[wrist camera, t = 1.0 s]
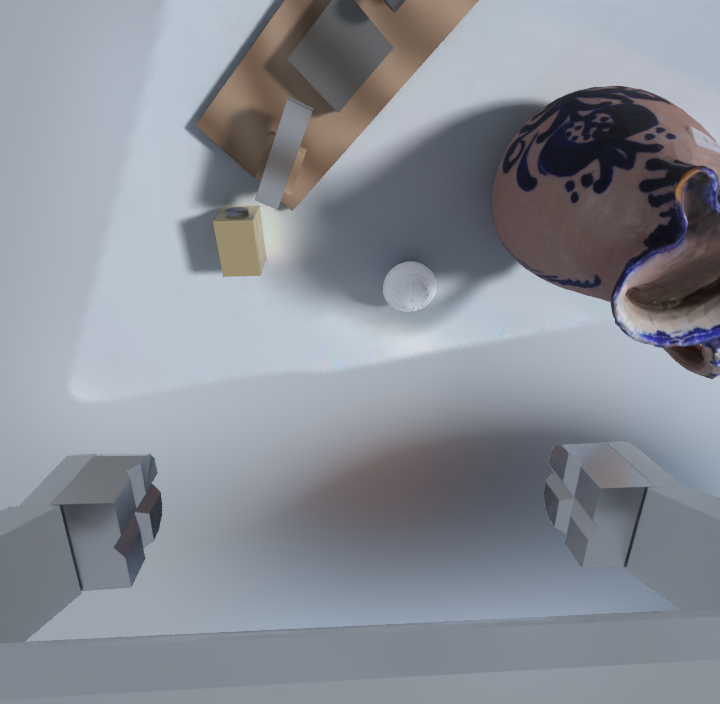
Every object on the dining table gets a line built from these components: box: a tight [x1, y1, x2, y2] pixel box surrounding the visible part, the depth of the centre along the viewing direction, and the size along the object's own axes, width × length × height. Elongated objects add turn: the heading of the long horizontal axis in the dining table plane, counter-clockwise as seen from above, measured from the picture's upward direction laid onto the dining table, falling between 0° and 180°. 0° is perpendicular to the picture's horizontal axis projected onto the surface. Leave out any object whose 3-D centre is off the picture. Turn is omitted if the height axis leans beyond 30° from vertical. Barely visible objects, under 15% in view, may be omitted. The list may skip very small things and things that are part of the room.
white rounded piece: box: [383, 261, 437, 312], centre depth 53 cm, size 6×6×7 cm
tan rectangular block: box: [213, 206, 266, 277], centre depth 51 cm, size 7×4×5 cm, turn 1°
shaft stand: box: [196, 0, 479, 211], centre depth 40 cm, size 28×12×8 cm, turn 136°
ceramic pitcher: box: [492, 86, 720, 379], centre depth 41 cm, size 18×21×25 cm
